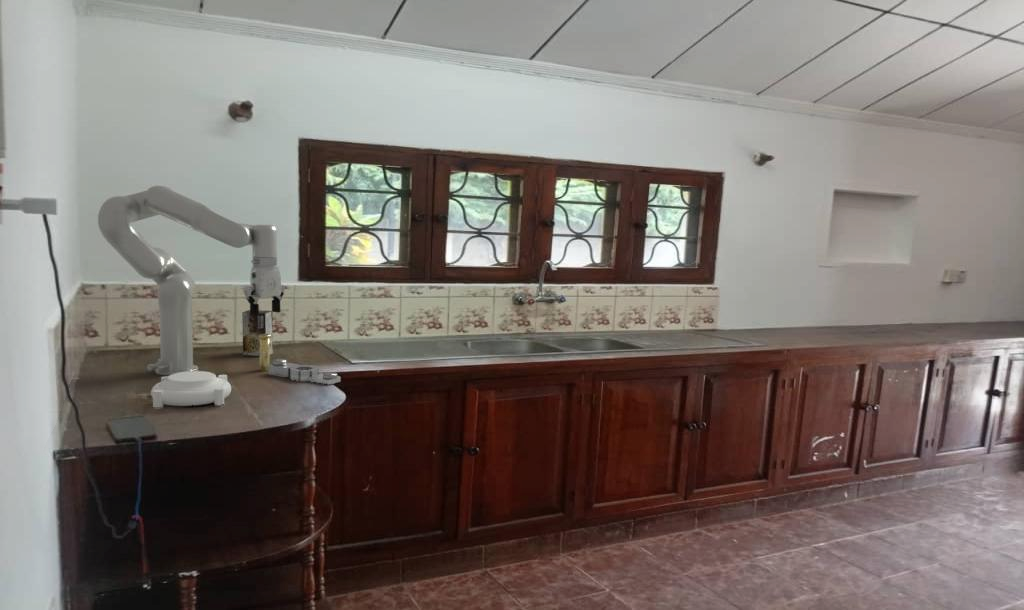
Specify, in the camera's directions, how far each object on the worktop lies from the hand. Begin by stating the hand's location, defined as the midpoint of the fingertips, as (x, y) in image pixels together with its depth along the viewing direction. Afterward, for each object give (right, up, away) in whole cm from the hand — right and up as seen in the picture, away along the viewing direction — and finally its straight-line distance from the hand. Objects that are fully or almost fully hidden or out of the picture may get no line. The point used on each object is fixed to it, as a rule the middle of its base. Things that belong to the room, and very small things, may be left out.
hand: (265, 313), depth 235 cm
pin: (-1, -19, +2) cm, 19 cm away
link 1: (+11, -20, -4) cm, 24 cm away
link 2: (+18, -21, -8) cm, 29 cm away
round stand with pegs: (-8, -24, -36) cm, 44 cm away
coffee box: (-12, -16, +26) cm, 33 cm away
